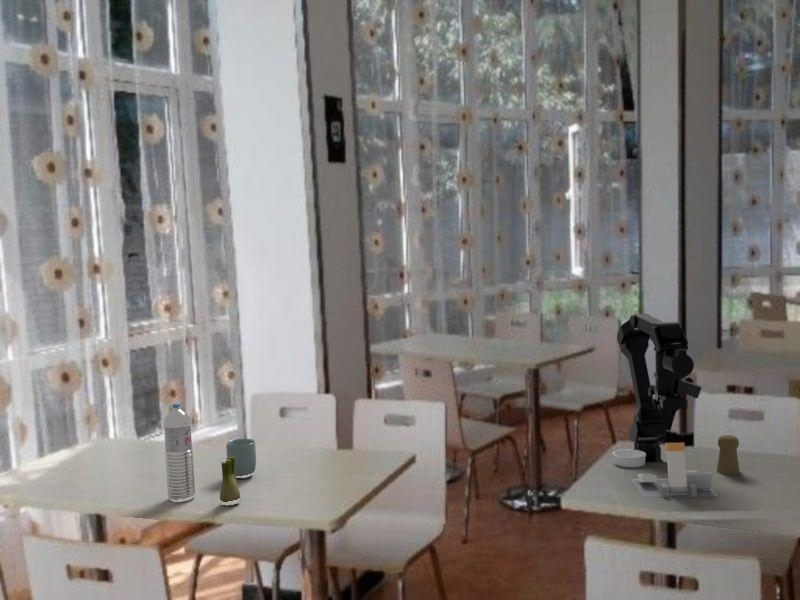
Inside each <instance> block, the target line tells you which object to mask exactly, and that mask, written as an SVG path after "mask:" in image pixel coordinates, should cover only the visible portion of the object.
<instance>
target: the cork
mask: <svg viewBox="0 0 800 600" xmlns="http://www.w3.org/2000/svg"><path fill="white" fill-rule="evenodd" d="M739 443H740V441H739V438H738V437H737V436H735V435H730V434H724V435H723V434H722V435H721V436H719V437H718V439H717V445H718V447H719V453H718V461H717V466H716V467H717V469H716V472H717V473H718V474H721V475H729V476H731V475H733V476H736V475H739V474H740V473H741V471H740V465H739V464H740V463H739V458H738V457H739V456H738V451H737V449H738V448H739V447H740V446H739V445H740V444H739Z"/></svg>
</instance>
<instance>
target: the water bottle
mask: <svg viewBox="0 0 800 600" xmlns="http://www.w3.org/2000/svg"><path fill="white" fill-rule="evenodd" d="M191 426H192V419H191V417H190V416H189V414H188V413H187V412H186V411H184V410H182V409H181V403H177V402H176V403H172V410H171V411H169V413H167V414H166V416H165V417H164V419H163V427H164V441H165V442H164V444H165V445H164V446H165V451H164V453H165V468H166V469H165V471H166V481H167V482H166V484H167V496H168V497H167V498H169V499H173V500H174V499H175V500H178V499H185V498H188V497H191V496H193V495H194V494H195V495H196V490H195V485H196V484H195V473H194V472H195V469H194V453H193V452H194V449H193V445H192V444H193V442H192V427H191ZM169 499H168V500H169Z"/></svg>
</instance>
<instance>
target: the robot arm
mask: <svg viewBox="0 0 800 600" xmlns="http://www.w3.org/2000/svg"><path fill="white" fill-rule="evenodd" d="M616 341H617V344H618V345H619V349H620V352H621V354H623V355H624V357H625V358H626V359H627V360H628V365H629V369H630V371H629V372H630V375H631V377H630V378H631V382H632V386H633V387H632V389H633V392H634V399H635V404H636V410H635V412H634V414H633V417H632V421H633V422H632V424H631V426H630V428H629V431H628V435H629V436H628V437H629V440H630V441H631V442H633V444H634V446H633V447H634V448H633V450H640V451H643V452H645V453H646V457H645V463H663V462H664V460H663V459H662V447H661V444H660V443H661V442H663V443H664V442H665V440H666V435H667V434H666V433H667V431H671V430H672V428H673V424H674V419H675V416H676V413H677V412H678V411H679V410H687V409H688V408H689V407H688V405H689V404H688V400H687V399H686V398H685V397H684V396H683V394H684V395H687V396H690V397H693V399H699V396H700V393H701V390H702V388H703V387H702V386H701V385H699V384H697V383H695V382H694V379H693V378H691V377H690V376H689V375H690V374H691V373H693V371H694V366H695V363H694V360H693V358H691V356H690V355H688V354H687V351H688V350H689V346H688V345H689V341H688V339H687V336H686V334H685V332H684V328H683V327H682V326H681V323H679V322H678V321H662V320H660V319H658V318H655V317H654V316H651V314H650V313H649V314H648V313H633V314H631V315H630V317H629V319H628V320H627V321H625V322H624V323H622V324H621V325H620V327H619V329H618V331H617V334H616ZM650 341H651V342H652V344H653V346H654V348H653V351H655V352H654V353H655V355H654V356H655V360H654V361H655V363H654V364H655V365H654V366H655V372H653V377H654V378H655V384H651V380H650V375H649V370H648V365H647V360H646V353H647V350H648V348H649V347H650V344H649V342H650Z"/></svg>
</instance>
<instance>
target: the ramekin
mask: <svg viewBox="0 0 800 600" xmlns="http://www.w3.org/2000/svg"><path fill="white" fill-rule="evenodd" d="M612 456H613V462H614V464H615V465H617V466H620V467H625V468H637V467H643V466H645V465H646V462H645V457H646V453H645V452H643V451H640V450H634V449H632V448H631V449H627V448H625V449H617V450H615V451H613V452H612Z"/></svg>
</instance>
